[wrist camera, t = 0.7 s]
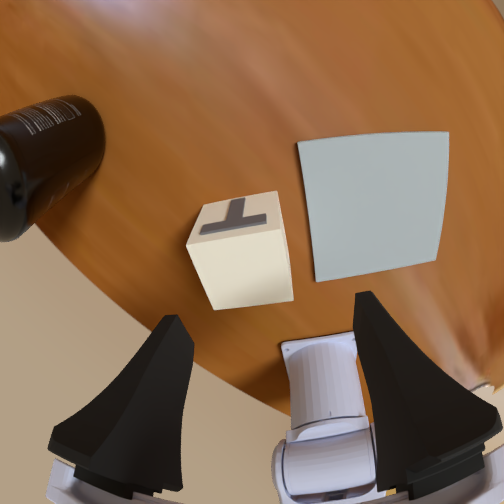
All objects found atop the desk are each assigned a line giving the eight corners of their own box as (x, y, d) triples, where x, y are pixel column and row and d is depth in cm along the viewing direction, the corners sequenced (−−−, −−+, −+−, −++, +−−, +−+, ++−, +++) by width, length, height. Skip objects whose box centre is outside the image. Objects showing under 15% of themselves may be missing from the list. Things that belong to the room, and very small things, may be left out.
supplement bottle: (32, 127, 14) (-84, 196, 4) (85, 75, 12) (-67, 118, 3) (66, 195, 18) (-32, 294, 8) (124, 155, 16) (-4, 263, 6)
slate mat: (434, 258, 20) (435, 260, 19) (315, 279, 21) (316, 282, 21) (446, 131, 14) (449, 132, 13) (297, 142, 15) (297, 142, 15)
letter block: (288, 252, 20) (293, 300, 16) (223, 262, 21) (214, 310, 17) (276, 187, 17) (280, 226, 13) (203, 202, 18) (184, 242, 14)
